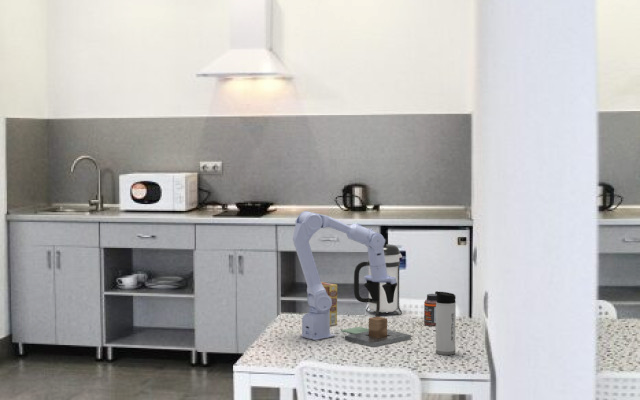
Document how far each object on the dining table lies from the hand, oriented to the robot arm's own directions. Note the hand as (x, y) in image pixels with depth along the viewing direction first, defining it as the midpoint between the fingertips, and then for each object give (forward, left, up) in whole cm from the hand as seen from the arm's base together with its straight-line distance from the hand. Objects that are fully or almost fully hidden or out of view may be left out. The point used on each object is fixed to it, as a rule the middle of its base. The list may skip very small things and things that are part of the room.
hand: (383, 301), depth 325 cm
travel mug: (-7, -36, -11) cm, 38 cm away
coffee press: (+23, +24, -11) cm, 35 cm away
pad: (-6, +6, -11) cm, 14 cm away
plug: (-10, -8, -11) cm, 17 cm away
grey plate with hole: (-10, -8, -11) cm, 17 cm away
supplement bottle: (+23, -3, -11) cm, 25 cm away
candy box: (-6, +24, -11) cm, 27 cm away
